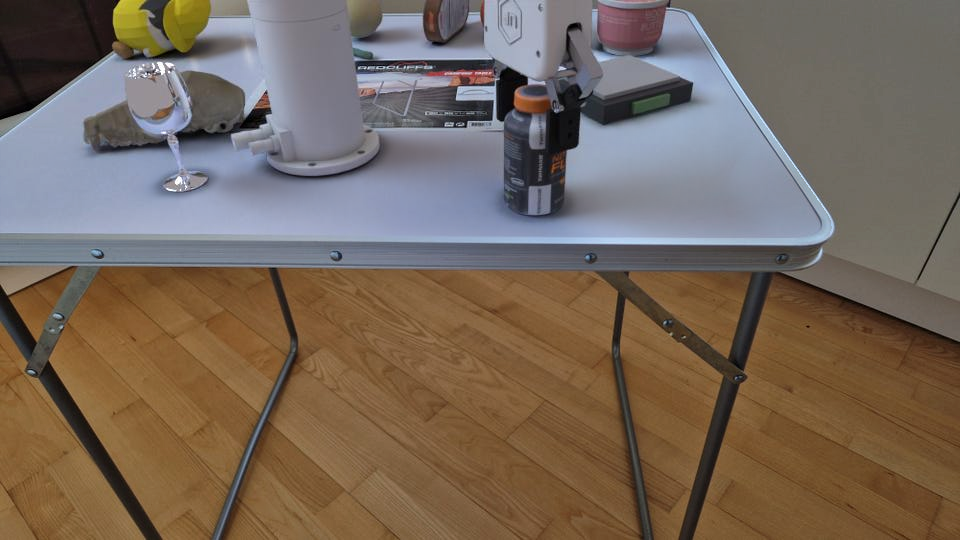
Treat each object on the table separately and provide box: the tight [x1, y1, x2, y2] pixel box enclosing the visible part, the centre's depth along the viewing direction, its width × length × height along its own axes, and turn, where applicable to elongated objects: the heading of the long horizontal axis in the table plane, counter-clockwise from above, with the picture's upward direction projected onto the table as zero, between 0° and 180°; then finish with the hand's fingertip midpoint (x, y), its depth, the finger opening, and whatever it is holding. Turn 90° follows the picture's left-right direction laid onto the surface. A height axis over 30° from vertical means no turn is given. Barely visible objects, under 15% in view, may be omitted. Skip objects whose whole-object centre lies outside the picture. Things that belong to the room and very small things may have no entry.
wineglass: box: [123, 61, 209, 193], centre depth 68 cm, size 6×6×12 cm
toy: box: [111, 0, 212, 59], centre depth 106 cm, size 13×10×15 cm
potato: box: [346, 0, 383, 39], centre depth 109 cm, size 8×8×8 cm
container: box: [596, 0, 670, 57], centre depth 101 cm, size 10×10×8 cm
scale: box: [558, 55, 694, 126], centre depth 86 cm, size 14×12×3 cm
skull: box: [82, 69, 246, 152], centre depth 79 cm, size 9×18×10 cm
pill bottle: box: [503, 83, 568, 216], centre depth 63 cm, size 6×6×11 cm
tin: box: [422, 0, 470, 44], centre depth 108 cm, size 15×3×8 cm, turn 161°
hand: (535, 132), depth 62 cm, fingers open, 7 cm apart
